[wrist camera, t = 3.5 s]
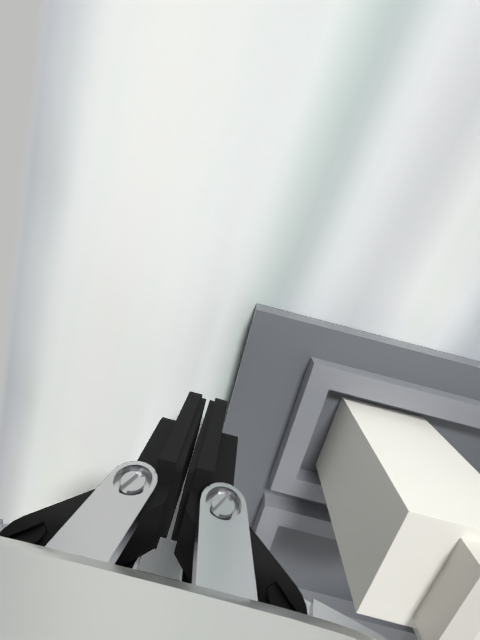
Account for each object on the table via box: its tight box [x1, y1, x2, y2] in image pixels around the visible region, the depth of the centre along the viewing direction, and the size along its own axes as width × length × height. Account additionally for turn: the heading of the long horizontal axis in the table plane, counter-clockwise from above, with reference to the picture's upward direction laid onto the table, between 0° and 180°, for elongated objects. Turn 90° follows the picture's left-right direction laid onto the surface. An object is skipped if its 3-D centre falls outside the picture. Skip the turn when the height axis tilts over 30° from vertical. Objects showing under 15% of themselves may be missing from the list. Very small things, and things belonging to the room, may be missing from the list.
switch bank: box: [222, 304, 480, 640], centre depth 15 cm, size 18×24×2 cm
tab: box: [316, 396, 480, 640], centre depth 10 cm, size 4×4×7 cm
